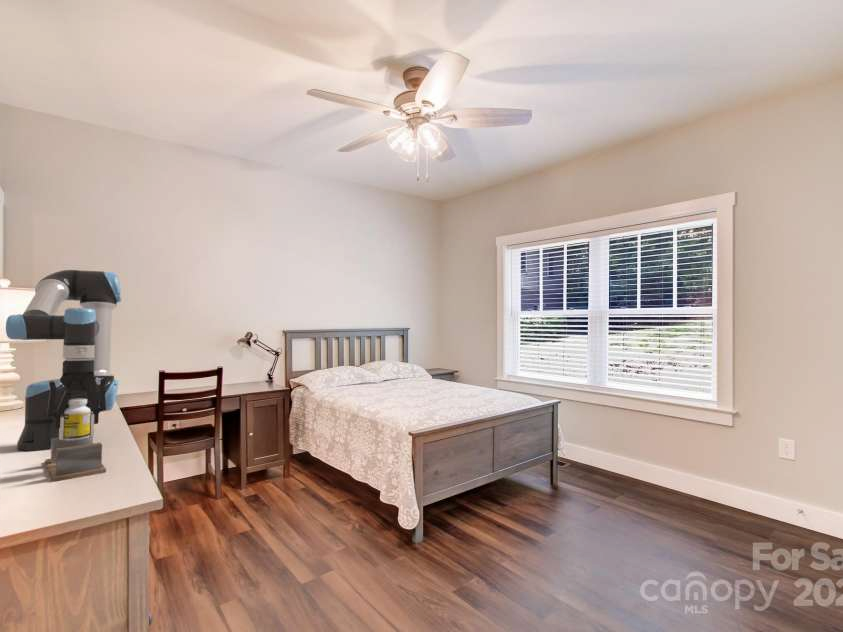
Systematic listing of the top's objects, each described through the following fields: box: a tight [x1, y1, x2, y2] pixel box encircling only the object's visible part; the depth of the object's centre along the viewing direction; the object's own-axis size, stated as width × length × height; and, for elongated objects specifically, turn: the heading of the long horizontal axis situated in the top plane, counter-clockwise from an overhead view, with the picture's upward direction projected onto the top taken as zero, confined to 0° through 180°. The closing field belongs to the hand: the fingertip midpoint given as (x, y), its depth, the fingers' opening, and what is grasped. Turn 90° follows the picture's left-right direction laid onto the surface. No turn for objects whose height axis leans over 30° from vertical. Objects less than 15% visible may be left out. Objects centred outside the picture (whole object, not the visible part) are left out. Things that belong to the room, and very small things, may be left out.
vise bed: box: [44, 442, 107, 482], centre depth 134 cm, size 24×12×8 cm, turn 44°
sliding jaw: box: [50, 436, 94, 464], centre depth 140 cm, size 7×10×7 cm
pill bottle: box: [63, 398, 91, 441], centre depth 132 cm, size 6×6×12 cm
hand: (76, 437), depth 132 cm, fingers closed on pill bottle, 6 cm apart
